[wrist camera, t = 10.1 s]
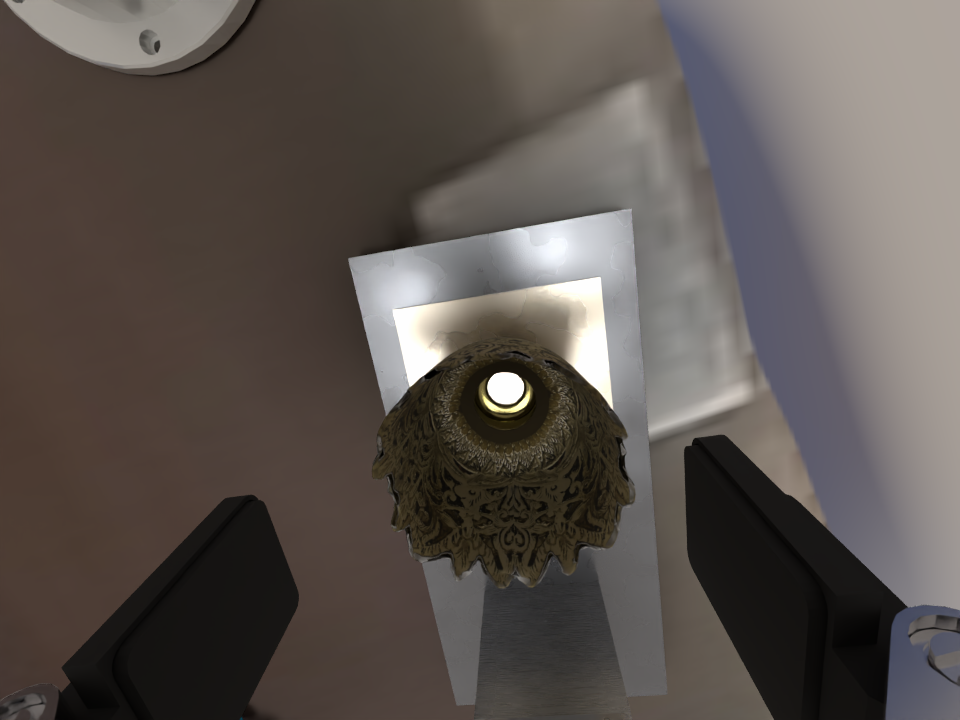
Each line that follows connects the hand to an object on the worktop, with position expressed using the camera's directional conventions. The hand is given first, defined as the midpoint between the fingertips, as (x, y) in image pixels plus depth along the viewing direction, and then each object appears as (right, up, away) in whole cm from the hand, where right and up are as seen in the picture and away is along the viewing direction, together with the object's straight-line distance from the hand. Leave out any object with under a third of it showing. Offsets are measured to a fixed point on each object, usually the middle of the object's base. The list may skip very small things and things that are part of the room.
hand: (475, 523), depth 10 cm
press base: (+3, -3, +14) cm, 14 cm away
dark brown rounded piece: (+1, +2, +10) cm, 11 cm away
